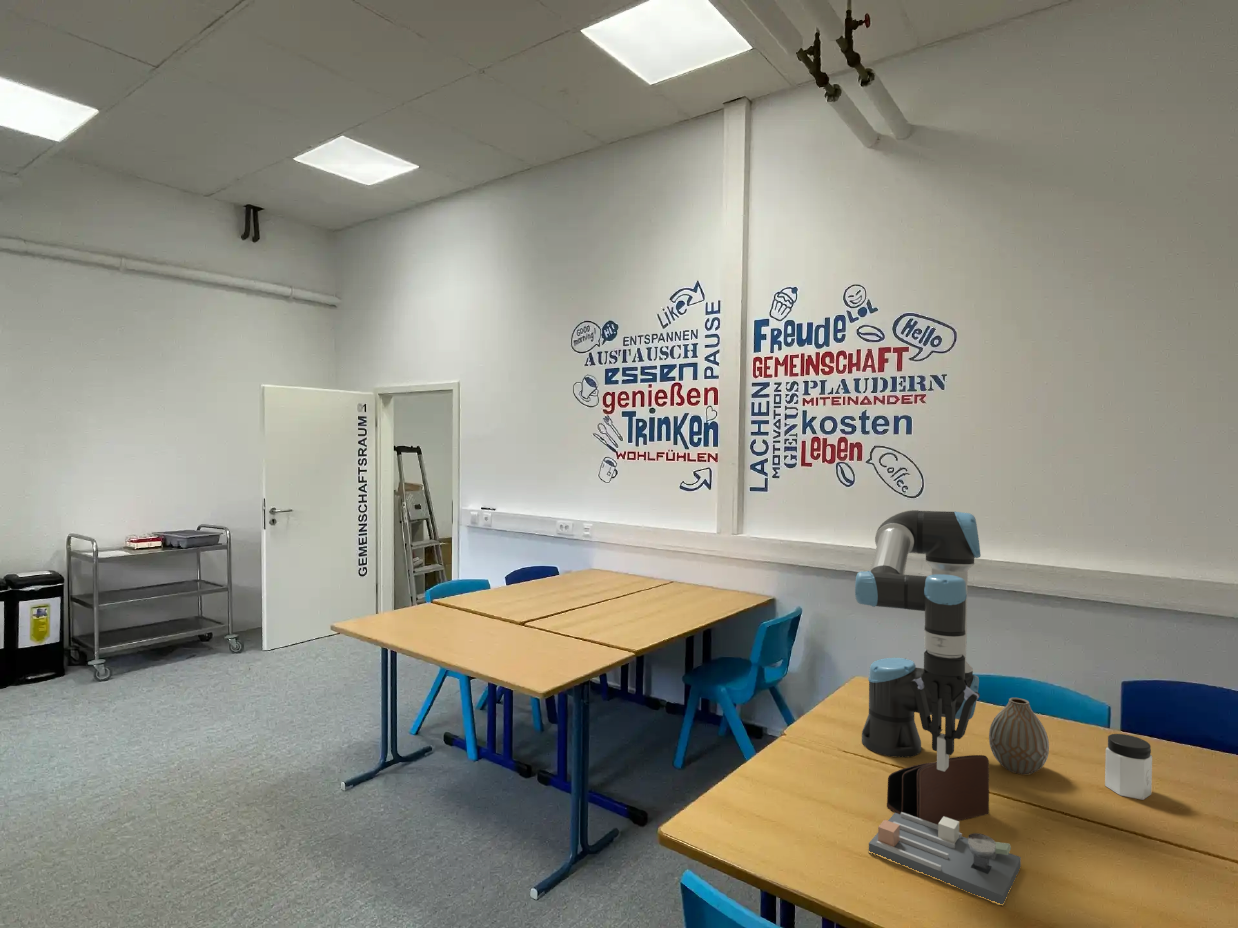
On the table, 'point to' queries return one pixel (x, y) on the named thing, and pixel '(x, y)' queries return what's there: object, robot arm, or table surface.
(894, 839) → the slider terracotta
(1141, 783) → the jar
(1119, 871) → the table surface
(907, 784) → the letter holder
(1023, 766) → the vase
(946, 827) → the slider ivory
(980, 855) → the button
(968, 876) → the panel
